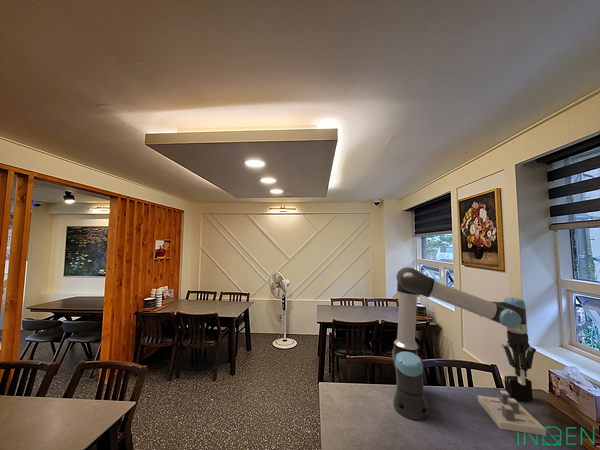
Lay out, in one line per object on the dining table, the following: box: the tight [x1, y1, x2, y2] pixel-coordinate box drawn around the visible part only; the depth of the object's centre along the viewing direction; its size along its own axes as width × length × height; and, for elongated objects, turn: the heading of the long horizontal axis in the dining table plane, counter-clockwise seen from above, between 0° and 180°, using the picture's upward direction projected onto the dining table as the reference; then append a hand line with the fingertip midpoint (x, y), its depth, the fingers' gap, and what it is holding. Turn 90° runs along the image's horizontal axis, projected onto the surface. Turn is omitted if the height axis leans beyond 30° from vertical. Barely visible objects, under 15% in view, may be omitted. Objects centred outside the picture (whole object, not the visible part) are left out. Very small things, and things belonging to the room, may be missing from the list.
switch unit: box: [477, 395, 547, 437], centre depth 108 cm, size 16×19×3 cm
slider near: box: [502, 405, 515, 421], centre depth 103 cm, size 3×3×5 cm
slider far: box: [498, 389, 510, 404], centre depth 113 cm, size 3×3×5 cm
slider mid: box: [507, 398, 520, 414], centre depth 108 cm, size 3×3×5 cm
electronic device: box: [503, 375, 534, 403], centre depth 121 cm, size 4×10×10 cm, turn 89°
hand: (521, 383), depth 112 cm, fingers closed
